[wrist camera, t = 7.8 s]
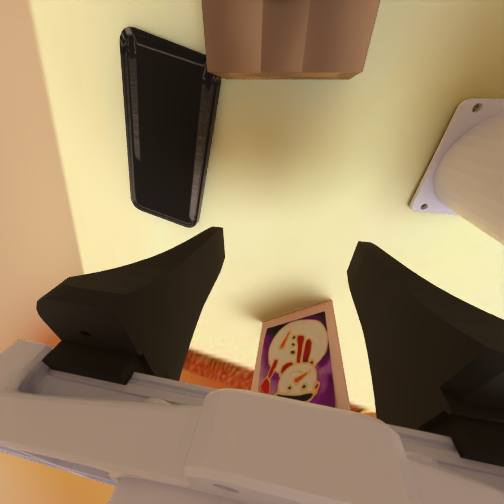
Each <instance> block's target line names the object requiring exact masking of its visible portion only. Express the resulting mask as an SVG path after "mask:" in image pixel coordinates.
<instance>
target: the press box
mask: <svg viewBox="0 0 504 504" xmlns="http://www.w3.org/2000/svg"><path fill="white" fill-rule="evenodd" d="M379 4H380V0H202V10H203V22H204V34H205V46H206V59H207V71H208V72H209V73H212V74H214V75H217V76H220V77H222V78H225V79H350V78H352V77H354V76H355V75H357V74H359V73H360V72H362V71H363V68H364V64H365V60H366V56H367V52H368V48H369V44H370V40H371V36H372V32H373V28H374V24H375V20H376V16H377V12H378V8H379Z"/></svg>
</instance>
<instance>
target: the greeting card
mask: <svg viewBox="0 0 504 504" xmlns="http://www.w3.org/2000/svg"><path fill="white" fill-rule="evenodd" d="M251 391H254V392H259V393H264V394H269V395H274V396H279V397H284V398H289V399H294V400H299V401H304V402H308V403H313V404H318V405H323V406H328V407H333V408H338V409H343V410H348V411H351V410H350V404H349V398H348V392H347V386H346V380H345V374H344V368H343V362H342V356H341V350H340V344H339V339H338V333H337V327H336V321H335V315H334V309H333V303H332V300H330V301H327V302H324V303H321V304H318V305H315V306H312V307H309V308H306V309H303V310H300V311H296V312H293V313H290V314H287V315H284V316H281V317H278V318H275V319H272V320H269V321H266V322H263V324H262V330H261V336H260V342H259V347H258V353H257V359H256V365H255V370H254V376H253V382H252V388H251Z"/></svg>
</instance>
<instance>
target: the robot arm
mask: <svg viewBox="0 0 504 504" xmlns="http://www.w3.org/2000/svg"><path fill="white" fill-rule="evenodd" d="M476 104H478V105H479V106H478V108H477V110H476V111H474V112H473V111H472V109H473V107H474V106H475V105H476ZM423 204H426V205H425V206H424V207H423V208H421V206H422V205H423ZM409 207H410V209H411V210H413V211H417V212H429V213H441V214H452V215H460V216H461V217H463V218H464V219H466V220H467V221H469V222H470V223H472V224H473V225H474V226H476V227H477V228H479V229H480V230H482V231H483V232H485V233H486V234H488V235H489V236H491V237H492V238H494V239H495V240H497V241H498V242H500V243H501V244H503V245H504V99H480V98H472V99H466V100H464V101H463V102H461V103H460V104H459V106H458V107H457V109H456V111H455V113H454V115H453V117H452V119H451V121H450V123H449V125H448V128H447V130H446V132H445V134H444V136H443V138H442V140H441V142H440V144H439V146H438V148H437V150H436V152H435V154H434V156H433V158H432V160H431V162H430V164H429V166H428V168H427V170H426V172H425V174H424V176H423V178H422V180H421V182H420V185H419V187H418V189H417V191H416V193H415V195H414V197H413V199H412V201H411V203H410V206H409ZM224 259H225V250H224V237H223V228H221V227H211V228H208V229H207V230H205V231H203V232H201V233H200V234H198V235H196V236H194V237H193V238H191V239H189V240H187V241H186V242H184V243H182V244H180V245H178V246H176V247H174V248H172V249H170V250H168V251H165V252H163V253H161V254H158V255H156V256H153V257H151V258H148V259H145V260H142V261H138V262H135V263H132V264H129V265H125V266H122V267H118V268H114V269H110V270H105V271H101V272H96V273H90V274H85V275H80V276H74V277H69V278H67V279H66V280H64V281H63V282H62V283H60V284H59V285H58V286H56V287H55V288H54V289H52V290H51V291H50V292H48V293H47V294H46V295H44V296H43V297H42V298H40V299H39V300H38V301H37V311H38V314H39V315H40V317H41V318H42V319H43V321H44V322H45V323H46V324H47V325H48V326H49V327H50V328H51V329H52V330H53V332H54V333H55V334H56V335H57V336H58V337H59V338H60V339H61V340H62V341H61V342H60V343H59V344H58V345H57V346H56V347H55V348H53V347H52V346H50V345H47V344H44V343H39V342H35V341H30V340H25V339H19V340H17V341H16V342H14V343H13V344H12V345H11V346H10V347H8V348H7V349H6V350H5V351H4V352H2V353H1V354H0V452H3V453H7V454H10V455H13V456H17V457H21V458H24V459H27V460H30V461H34V462H37V463H40V464H44V465H47V466H50V467H54V468H57V469H61V470H63V471H67V472H71V473H73V474H77V475H80V476H83V477H86V478H90V479H93V480H96V481H100V482H103V483H106V484H109V485H113V486H116V487H115V489H114V491H113V493H112V495H111V497H110V499H109V502H108V504H504V320H503V319H501V318H498V317H496V316H494V315H492V314H489V313H487V312H485V311H483V310H481V309H479V308H477V307H475V306H473V305H471V304H468V303H466V302H464V301H462V300H460V299H459V298H457V297H455V296H453V295H451V294H449V293H447V292H446V291H444V290H442V289H440V288H438V287H437V286H435V285H433V284H432V283H430V282H428V281H427V280H425V279H424V278H422V277H420V276H419V275H417V274H416V273H414V272H413V271H411V270H410V269H408V268H407V267H405V266H404V265H403V264H401V263H400V262H398V261H397V260H396V259H394V258H393V257H392V256H390V255H389V254H387V253H386V252H385V251H383V250H382V249H380V248H379V247H378V246H376V245H375V244H373V243H371V242H361V241H358V244H357V246H356V249H355V252H354V254H353V257H352V260H351V262H350V265H349V268H348V270H347V276H348V283H349V288H350V292H351V295H352V298H353V301H354V304H355V307H356V310H357V313H358V317H359V320H360V323H361V326H362V330H363V333H364V338H365V343H366V348H367V353H368V359H369V364H370V370H371V376H372V383H373V391H374V398H375V406H376V415H377V418H374V417H370V416H367V415H364V414H361V413H358V412H353V411H348V410H343V409H338V408H333V407H328V406H323V405H318V404H313V403H308V402H304V401H299V400H294V399H289V398H284V397H279V396H274V395H269V394H264V393H259V392H254V391H249V390H241V389H230V388H224V389H221V390H219V389H214V388H209V387H205V386H200V385H195V384H190V383H185V382H180V381H179V379H180V375H181V372H182V368H183V365H184V361H185V358H186V355H187V352H188V349H189V345H190V342H191V339H192V336H193V333H194V330H195V328H196V325H197V322H198V319H199V316H200V314H201V311H202V308H203V306H204V304H205V302H206V300H207V298H208V296H209V294H210V292H211V290H212V288H213V286H214V284H215V282H216V280H217V277H218V275H219V273H220V271H221V268H222V265H223V262H224Z"/></svg>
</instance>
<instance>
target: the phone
mask: <svg viewBox="0 0 504 504" xmlns="http://www.w3.org/2000/svg"><path fill="white" fill-rule="evenodd" d="M120 54H121V68H122V82H123V95H124V109H125V123H126V137H127V151H128V164H129V178H130V192H131V201H132V203H133V204H134V206H135V207H136V208H138V209H139V210H141V211H144V212H147V213H149V214H152V215H155V216H157V217H160V218H163V219H166V220H168V221H171V222H174V223H176V224H179V225H182V226H185V227H188V228H191V227H194V226H195V225H196V224H197V223H198V221H199V218H200V211H201V205H202V199H203V192H204V186H205V180H206V174H207V167H208V161H209V155H210V148H211V142H212V136H213V129H214V123H215V117H216V110H217V104H218V98H219V91H220V85H221V77H220V76H217V75H214V74H212V73H209V72H208V71H207V59H206V55H204V54H201V53H199V52H196V51H194V50H191V49H188V48H186V47H183V46H181V45H178V44H176V43H173V42H170V41H168V40H165V39H163V38H160V37H157V36H155V35H152V34H150V33H147V32H144V31H142V30H139V29H137V28H134V27H127V28H125V29H124V30H123V31H122V32H121V36H120Z"/></svg>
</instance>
